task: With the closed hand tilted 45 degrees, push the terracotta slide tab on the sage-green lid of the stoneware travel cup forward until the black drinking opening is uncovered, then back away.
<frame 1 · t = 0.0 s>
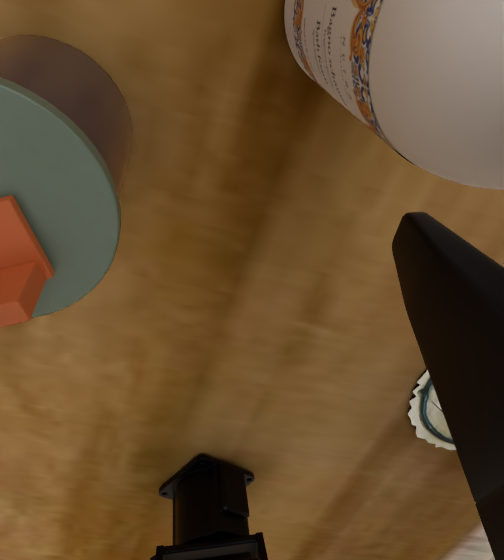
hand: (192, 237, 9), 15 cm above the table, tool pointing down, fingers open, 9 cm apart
travel cup: (48, 126, 22), on the table
bath foam: (352, 9, 21), on the table
decorative vase: (503, 373, 39), on the table
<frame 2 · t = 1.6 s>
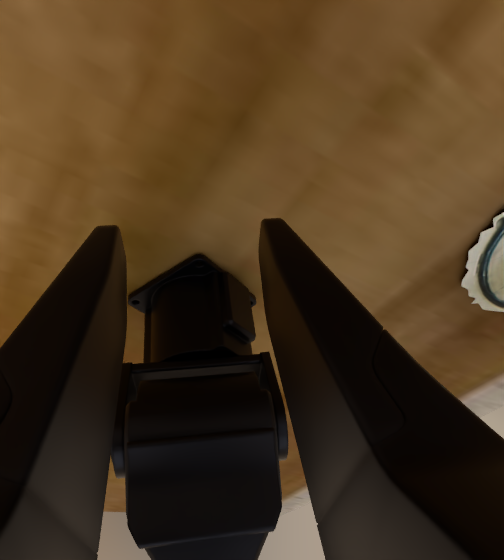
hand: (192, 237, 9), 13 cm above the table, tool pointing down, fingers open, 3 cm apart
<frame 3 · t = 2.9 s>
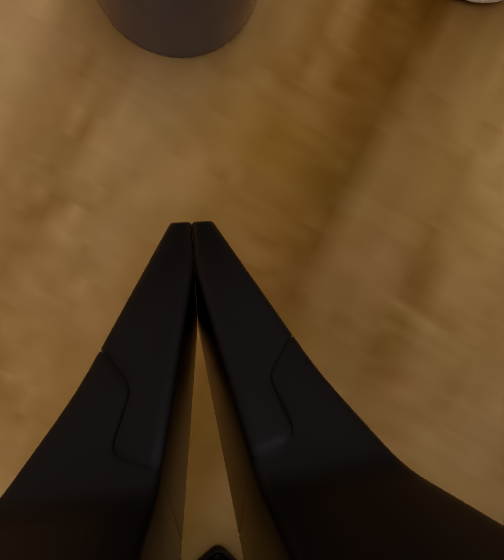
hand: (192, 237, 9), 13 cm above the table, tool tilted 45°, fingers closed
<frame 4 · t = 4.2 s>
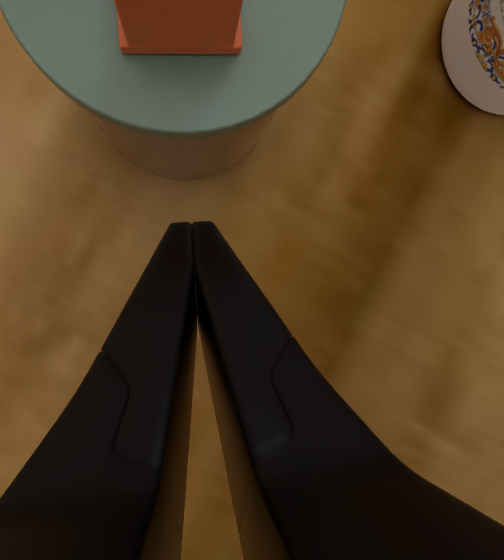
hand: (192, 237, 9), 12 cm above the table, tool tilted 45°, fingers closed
travel cup: (183, 90, 20), on the table
bath foam: (499, 48, 22), on the table
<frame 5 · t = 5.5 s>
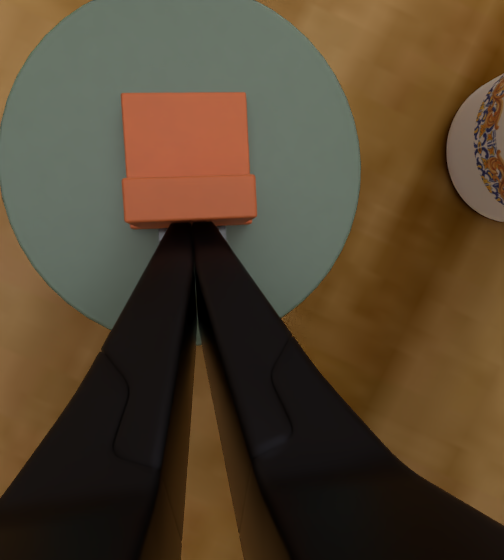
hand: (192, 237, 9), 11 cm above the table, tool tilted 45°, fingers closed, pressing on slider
travel cup: (190, 206, 20), on the table
bath foam: (503, 153, 22), on the table
slider: (187, 151, 9), point 11 cm above the table, slide at 1.1 cm, touching gripper
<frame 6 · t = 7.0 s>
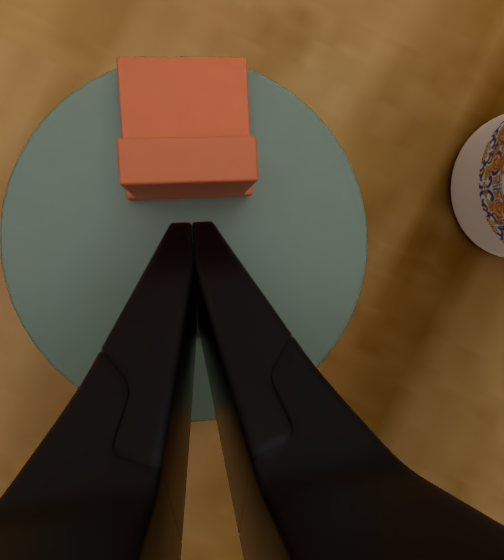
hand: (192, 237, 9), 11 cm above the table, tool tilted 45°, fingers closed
travel cup: (192, 244, 20), on the table
slider: (186, 115, 9), point 11 cm above the table, slide at 3.6 cm
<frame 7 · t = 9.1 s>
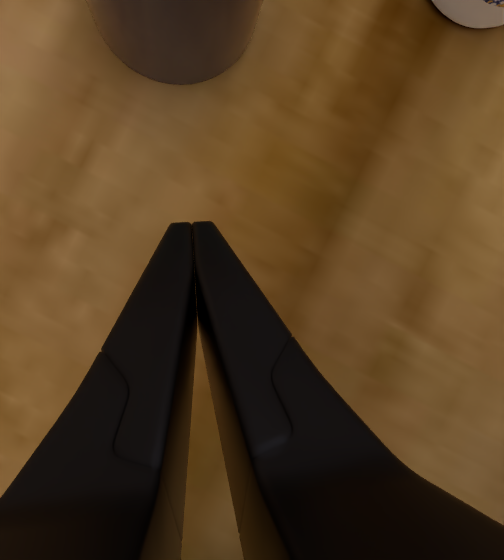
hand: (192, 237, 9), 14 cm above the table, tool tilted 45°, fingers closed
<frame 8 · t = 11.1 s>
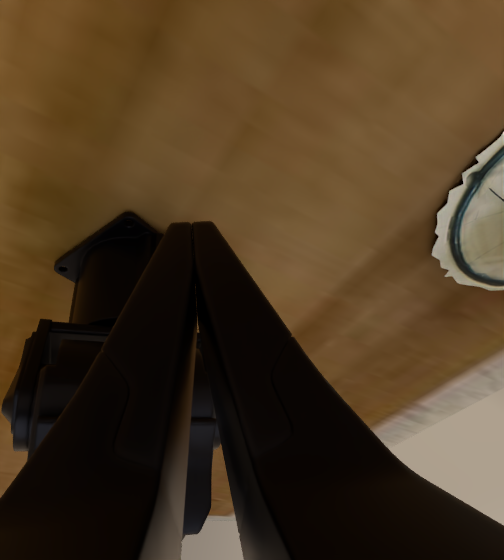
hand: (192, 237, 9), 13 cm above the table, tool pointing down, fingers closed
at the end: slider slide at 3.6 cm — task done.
